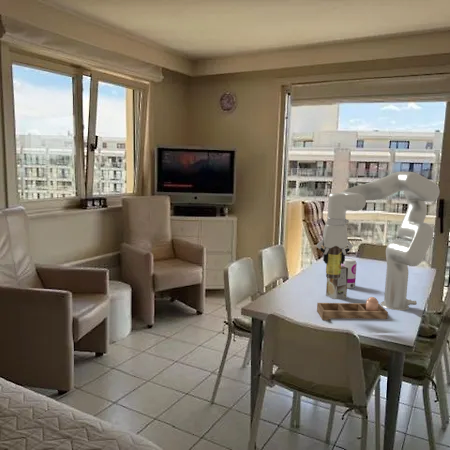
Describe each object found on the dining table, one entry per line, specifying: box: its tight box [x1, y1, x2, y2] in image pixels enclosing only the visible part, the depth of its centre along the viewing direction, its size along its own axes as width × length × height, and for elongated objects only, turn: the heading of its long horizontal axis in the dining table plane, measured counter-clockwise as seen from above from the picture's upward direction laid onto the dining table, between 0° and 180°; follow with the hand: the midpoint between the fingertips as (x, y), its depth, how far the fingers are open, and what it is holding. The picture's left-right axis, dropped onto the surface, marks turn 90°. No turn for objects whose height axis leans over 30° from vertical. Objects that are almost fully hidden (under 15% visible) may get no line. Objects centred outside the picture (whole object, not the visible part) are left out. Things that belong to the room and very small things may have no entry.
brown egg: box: [365, 296, 379, 311], centre depth 191 cm, size 5×5×8 cm
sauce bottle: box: [325, 246, 342, 279], centre depth 187 cm, size 6×6×20 cm
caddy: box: [316, 302, 389, 321], centre depth 191 cm, size 28×11×4 cm, turn 90°
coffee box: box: [325, 266, 348, 300], centre depth 216 cm, size 9×6×16 cm
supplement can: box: [341, 257, 358, 289], centre depth 235 cm, size 8×8×15 cm
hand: (333, 262), depth 188 cm, fingers closed on sauce bottle, 6 cm apart
